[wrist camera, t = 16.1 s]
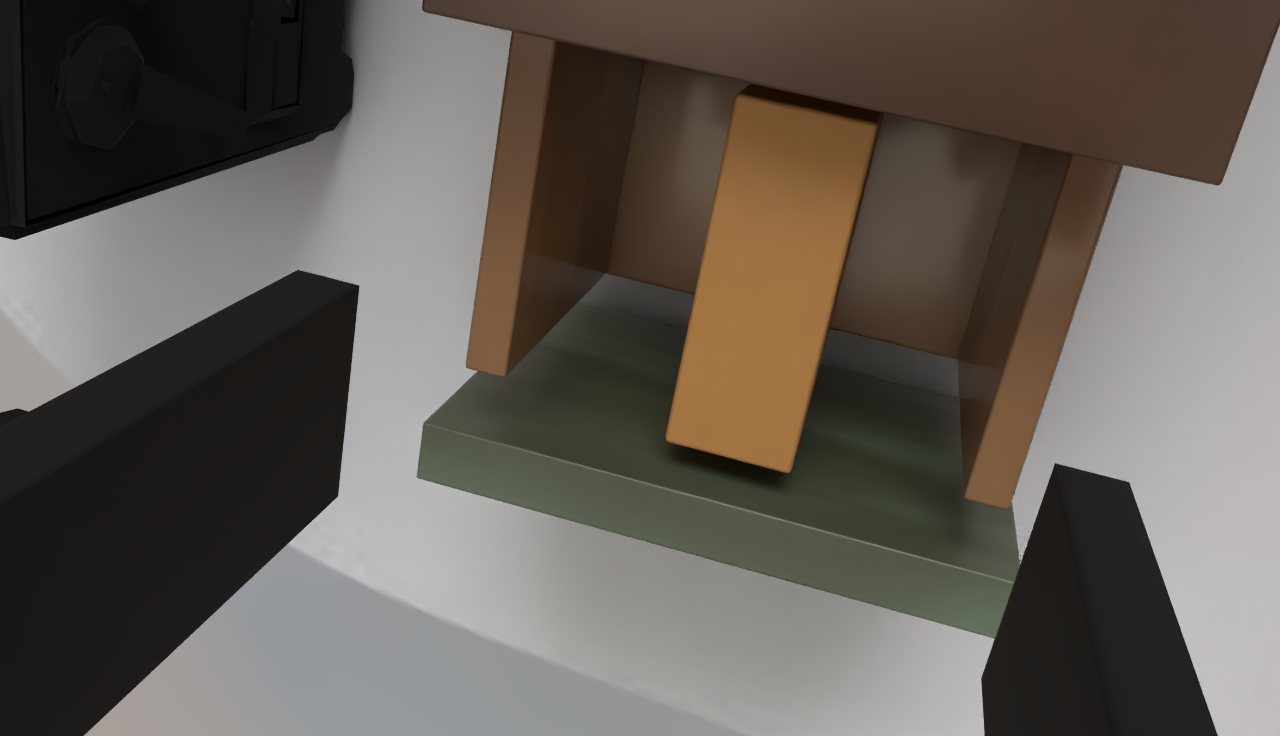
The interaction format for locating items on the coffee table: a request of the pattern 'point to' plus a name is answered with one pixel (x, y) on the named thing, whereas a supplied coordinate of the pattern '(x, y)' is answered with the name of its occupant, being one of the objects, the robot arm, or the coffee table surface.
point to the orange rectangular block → (770, 273)
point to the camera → (155, 96)
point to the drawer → (842, 399)
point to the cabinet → (961, 62)
